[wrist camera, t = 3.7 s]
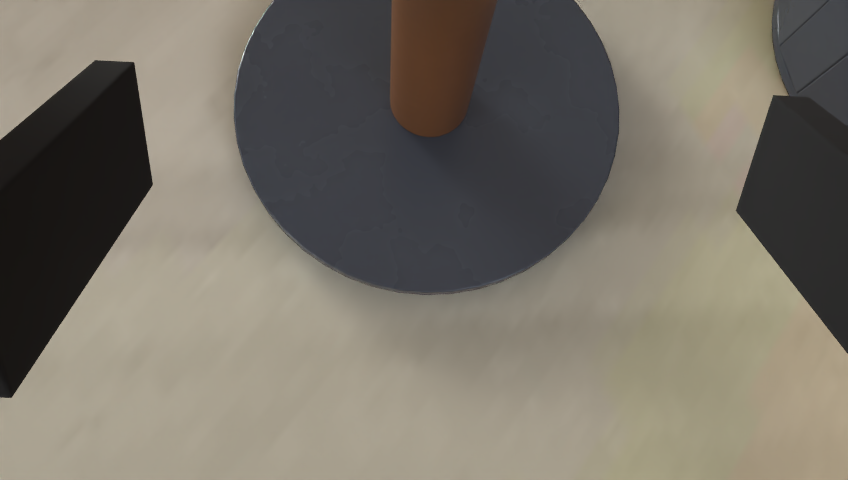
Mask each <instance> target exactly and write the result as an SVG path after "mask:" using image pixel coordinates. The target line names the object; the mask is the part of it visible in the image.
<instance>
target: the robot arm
mask: <svg viewBox="0 0 848 480" xmlns="http://www.w3.org/2000/svg"><path fill="white" fill-rule="evenodd" d="M152 185H153V183H152V176H151V170H150V163H149V157H148V150H147V144H146V137H145V130H144V124H143V117H142V111H141V104H140V98H139V91H138V85H137V78H136V72H135V65H134V62H117V61H98V60H95V61H94V62H93V63H92V64H90V65H89V66H88V67H87V68H86V69H84V70H83V71H82V72H81V73H80V74H78V75H77V76H76V77H75V78H74V79H72V80H71V81H70V82H69V83H68V84H67V85H65V86H64V87H63V88H62V89H61V90H59V91H58V92H57V93H56V94H55V95H53V96H52V97H51V98H50V99H49V100H47V101H46V102H45V103H44V104H43V105H42V106H40V107H39V108H38V109H37V110H36V111H34V112H33V113H32V114H31V115H30V116H28V117H27V118H26V119H25V120H24V121H22V122H21V123H20V124H19V125H18V126H16V127H15V128H14V129H13V130H12V131H11V132H9V133H8V134H7V135H6V136H5V137H3V138H2V139H1V140H0V397H5V398H12V396H13V395H14V393H15V392H16V390H17V389H18V387H19V386H20V384H21V383H22V381H23V380H24V378H25V377H26V375H27V374H28V372H29V371H30V369H31V368H32V366H33V365H34V363H35V362H36V360H37V359H38V357H39V356H40V354H41V353H42V351H43V350H44V348H45V347H46V345H47V344H48V342H49V341H50V339H51V338H52V336H53V335H54V333H55V332H56V330H57V329H58V327H59V325H60V324H61V322H62V321H63V319H64V318H65V316H66V315H67V313H68V312H69V310H70V309H71V307H72V306H73V304H74V303H75V301H76V300H77V298H78V297H79V295H80V294H81V292H82V291H83V289H84V288H85V286H86V285H87V283H88V282H89V280H90V279H91V277H92V276H93V274H94V273H95V271H96V270H97V268H98V267H99V265H100V264H101V262H102V261H103V259H104V258H105V256H106V255H107V253H108V252H109V250H110V249H111V247H112V246H113V244H114V243H115V241H116V240H117V238H118V237H119V235H120V234H121V232H122V231H123V229H124V227H125V226H126V224H127V223H128V221H129V220H130V218H131V217H132V215H133V214H134V212H135V211H136V209H137V208H138V206H139V205H140V203H141V202H142V200H143V199H144V197H145V196H146V194H147V193H148V191H149V190H150V188H151V187H152ZM736 211H737V213H738V214H739V215H740V217H741V218H742V219H743V220H744V222H745V223H746V224H747V225H748V227H749V228H750V229H751V231H752V232H753V233H754V234H755V236H756V237H757V238H758V240H759V241H760V242H761V243H762V245H763V246H764V247H765V249H766V250H767V251H768V252H769V254H770V255H771V256H772V257H773V259H774V260H775V261H776V263H777V264H778V265H779V266H780V268H781V269H782V270H783V272H784V273H785V274H786V275H787V277H788V278H789V279H790V281H791V282H792V283H793V284H794V286H795V287H796V288H797V289H798V291H799V292H800V293H801V295H802V296H803V297H804V298H805V300H806V301H807V302H808V304H809V305H810V306H811V307H812V309H813V310H814V311H815V312H816V314H817V315H818V316H819V318H820V319H821V320H822V321H823V323H824V324H825V325H826V327H827V328H828V329H829V330H830V332H831V333H832V334H833V336H834V337H835V338H836V339H837V341H838V342H839V343H840V344H841V346H842V347H843V348H844V350H845V351H846V352H847V353H848V126H846V125H845V124H844V123H842V122H841V121H840V120H838V119H837V118H836V117H834V116H833V115H832V114H831V113H829V112H828V111H827V110H825V109H824V108H823V107H821V106H820V105H819V104H817V103H816V102H815V101H813V100H812V99H811V98H809V97H796V96H776V95H773V98H772V101H771V104H770V107H769V110H768V113H767V116H766V119H765V122H764V125H763V129H762V132H761V135H760V138H759V141H758V144H757V147H756V150H755V153H754V156H753V160H752V163H751V166H750V169H749V172H748V175H747V178H746V181H745V184H744V187H743V191H742V194H741V197H740V200H739V203H738V206H737V209H736Z"/></svg>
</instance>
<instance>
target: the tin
mask: <svg viewBox="0 0 848 480" xmlns="http://www.w3.org/2000/svg"><path fill="white" fill-rule="evenodd" d="M772 38H773V46H774V52H775V58H776V62H777V65H778V68H779V72H780V75H781V78H782V81H783V83H784V85H785V87H786V90H787V92H788V94H789V96H796V97H809V98H811V99H812V100H813V101H815V102H816V103H817V104H819V105H820V106H821V107H823V108H824V109H825V110H827V111H828V112H829V113H831V114H832V115H833V116H834V117H836V118H837V119H838V120H840V121H841V122H842V123H844V124H845V125H846V126H848V0H775V1H774V8H773V17H772Z"/></svg>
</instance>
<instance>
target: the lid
mask: <svg viewBox="0 0 848 480" xmlns="http://www.w3.org/2000/svg"><path fill="white" fill-rule="evenodd" d="M234 123H235V131H236V138H237V144H238V148H239V151H240V155H241V158H242V162H243V166H244V168H245V170H246V173H247V175H248V177H249V179H250V182H251V184H252V186H253V189H254V190H255V192H256V194H257V195H258V197H259V199H260V200H261V202H262V203H263V205H264V207H265V208H266V210H267V212H268V213H269V215H270V216H271V217H272V218H273V219H274V221H275V222H276V223H277V224H278V225H279V227H280V228H281V229H282V230H283V232H284V233H285V234H286V235H287V236H288V237H290V238H291V239H292V240H293V241H294V242H295V243H296V244H297V245H298V246H299V247H300V248H301V249H302V250H304V251H305V252H306V253H308V254H309V255H311V256H312V257H313V258H315V259H316V260H318V261H319V262H321V263H322V264H323V265H325V266H327V267H329V268H331V269H332V270H334V271H336V272H338V273H340V274H342V275H344V276H346V277H348V278H350V279H353V280H356V281H359V282H361V283H364V284H367V285H370V286H372V287H376V288H381V289H385V290H390V291H394V292H399V293H409V294H420V295H436V294H454V293H460V292H465V291H471V290H477V289H480V288H483V287H487V286H490V285H493V284H496V283H500V282H502V281H505V280H507V279H509V278H511V277H513V276H515V275H518V274H520V273H522V272H524V271H526V270H527V269H529V268H530V267H532V266H534V265H535V264H537V263H538V262H540V261H541V260H543V259H545V258H546V257H547V256H548V255H550V254H551V253H552V252H553V251H554V250H555V249H557V248H558V247H559V246H560V245H561V244H562V243H564V242H565V241H566V240H567V239H568V238H569V237H570V236H571V234H572V233H573V232H574V231H575V230H576V229H577V228H578V227H579V225H580V224H581V223H582V222H583V221H584V220H585V218H586V217H587V215H588V214H589V212H590V211H591V209H592V208H593V206H594V205H595V203H596V202H597V200H598V198H599V196H600V194H601V192H602V190H603V188H604V185H605V183H606V181H607V179H608V176H609V173H610V170H611V167H612V164H613V160H614V157H615V152H616V146H617V140H618V134H619V103H618V95H617V86H616V82H615V78H614V75H613V71H612V67H611V63H610V61H609V58H608V56H607V53H606V51H605V48H604V46H603V43H602V41H601V39H600V38H599V36H598V34H597V32H596V31H595V29H594V27H593V25H592V24H591V22H590V20H589V19H588V18H587V16H586V15H585V14H584V12H583V11H582V10H581V8H580V7H579V6H578V4H577V3H576V2H575V1H574V0H274V1H273V2H272V3H271V4H270V5H269V6H268V8H267V9H266V11H265V12H264V14H263V15H262V17H261V18H260V20H259V22H258V23H257V25H256V26H255V28H254V30H253V32H252V34H251V36H250V39H249V41H248V43H247V45H246V47H245V50H244V53H243V56H242V59H241V63H240V66H239V69H238V74H237V80H236V86H235V93H234Z"/></svg>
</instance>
